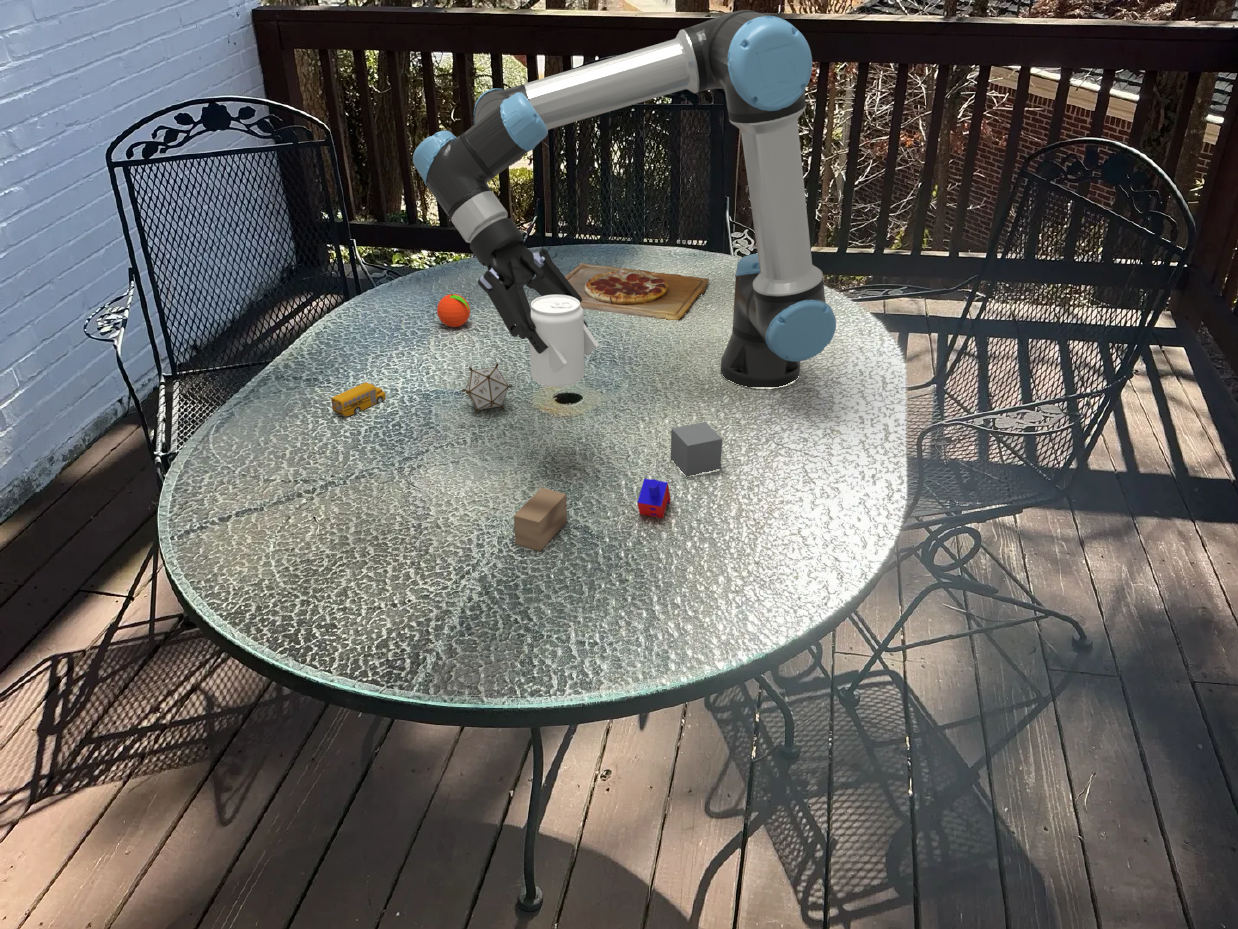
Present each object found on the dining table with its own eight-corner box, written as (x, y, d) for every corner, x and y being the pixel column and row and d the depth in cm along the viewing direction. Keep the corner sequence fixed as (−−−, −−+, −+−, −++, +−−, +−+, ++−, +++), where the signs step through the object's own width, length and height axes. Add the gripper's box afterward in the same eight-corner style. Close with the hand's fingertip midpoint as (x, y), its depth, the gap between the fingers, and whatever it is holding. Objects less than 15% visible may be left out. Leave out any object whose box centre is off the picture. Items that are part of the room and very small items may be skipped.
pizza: (533, 307, 211) (532, 292, 209) (575, 267, 234) (575, 253, 232) (684, 326, 202) (685, 310, 200) (713, 282, 225) (713, 267, 223)
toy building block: (641, 520, 141) (634, 492, 134) (648, 496, 143) (642, 468, 136) (664, 524, 140) (659, 496, 133) (670, 499, 142) (666, 472, 135)
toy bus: (387, 400, 171) (384, 381, 169) (344, 421, 164) (341, 401, 162) (375, 395, 173) (372, 377, 171) (332, 416, 166) (329, 396, 164)
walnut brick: (543, 516, 139) (541, 487, 136) (567, 522, 137) (566, 493, 135) (515, 544, 133) (513, 515, 130) (540, 552, 131) (538, 522, 129)
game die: (496, 430, 169) (500, 405, 160) (453, 411, 169) (454, 385, 159) (516, 390, 173) (521, 364, 164) (473, 372, 172) (477, 344, 163)
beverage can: (530, 367, 145) (527, 294, 139) (582, 365, 146) (581, 292, 140) (531, 391, 139) (527, 315, 132) (586, 388, 139) (585, 313, 133)
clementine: (481, 325, 201) (479, 293, 197) (460, 335, 196) (457, 303, 192) (453, 317, 205) (450, 286, 201) (431, 327, 200) (428, 296, 196)
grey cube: (703, 453, 154) (705, 421, 151) (720, 471, 150) (722, 438, 147) (670, 460, 153) (671, 428, 149) (686, 478, 148) (687, 445, 145)
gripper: (520, 229, 148) (603, 348, 148) (429, 262, 134) (520, 394, 135) (545, 201, 143) (630, 325, 143) (452, 232, 129) (547, 370, 129)
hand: (577, 358), depth 139 cm, fingers closed on beverage can, 7 cm apart
